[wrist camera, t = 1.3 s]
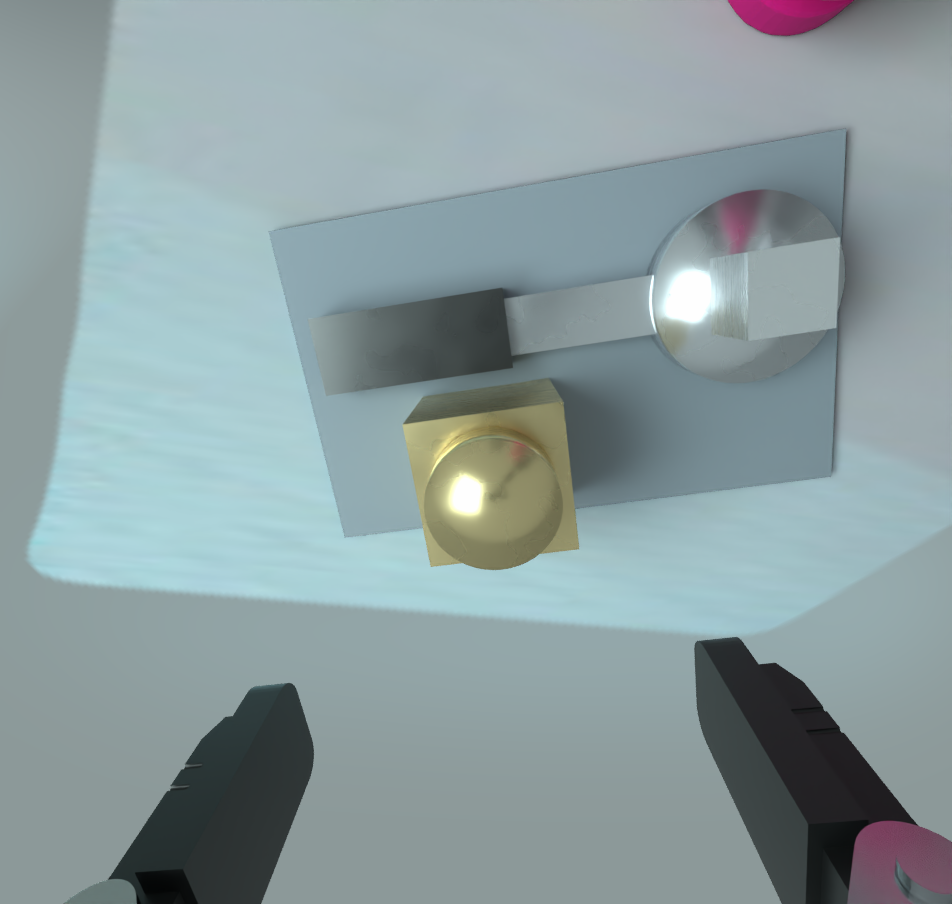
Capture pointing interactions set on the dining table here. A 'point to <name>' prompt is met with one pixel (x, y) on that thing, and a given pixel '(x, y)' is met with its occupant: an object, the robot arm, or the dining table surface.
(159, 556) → the dining table surface
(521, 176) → the dining table surface
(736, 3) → the pepper mill
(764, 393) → the mat
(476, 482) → the brass knob block
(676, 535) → the dining table surface
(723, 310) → the metal ladle
